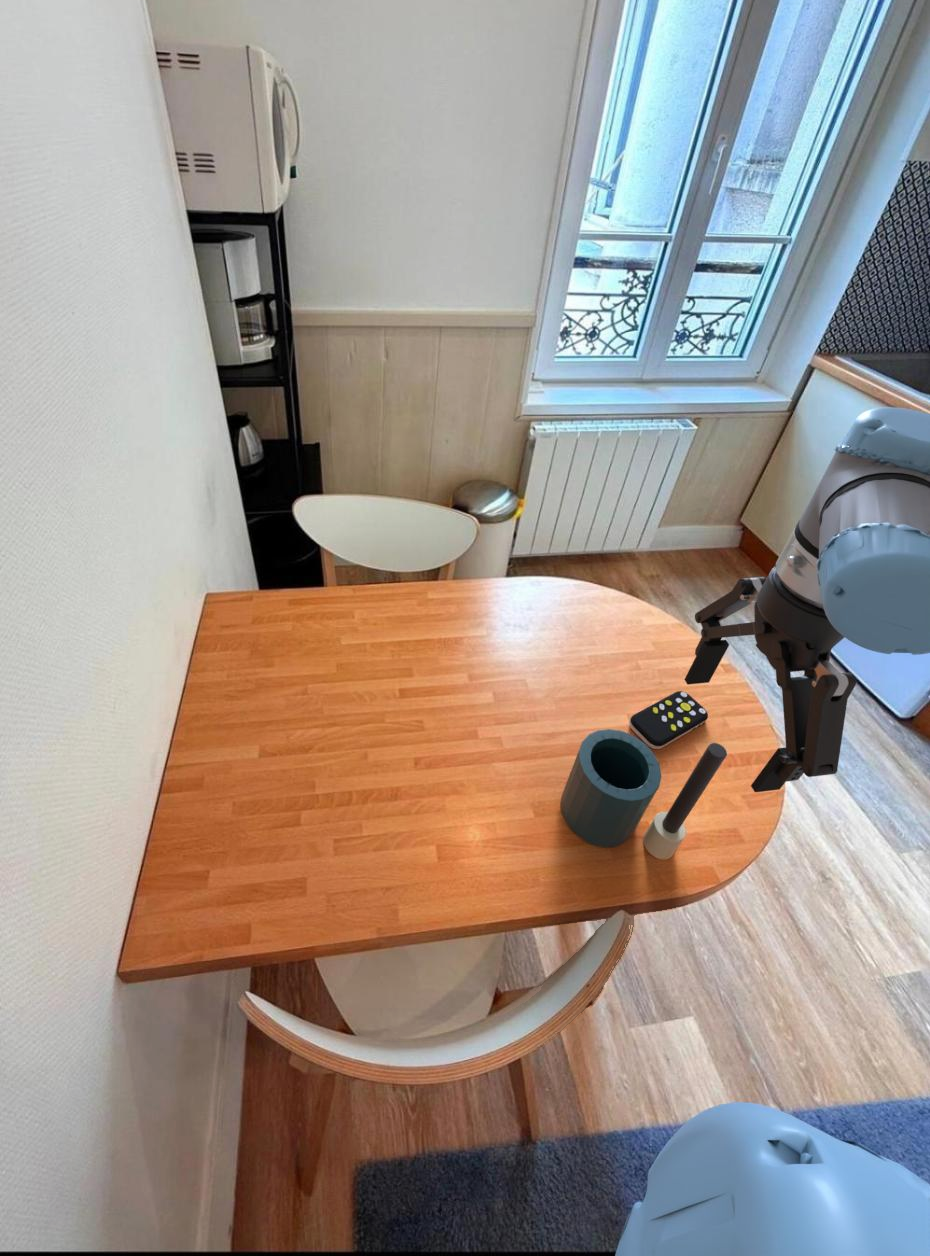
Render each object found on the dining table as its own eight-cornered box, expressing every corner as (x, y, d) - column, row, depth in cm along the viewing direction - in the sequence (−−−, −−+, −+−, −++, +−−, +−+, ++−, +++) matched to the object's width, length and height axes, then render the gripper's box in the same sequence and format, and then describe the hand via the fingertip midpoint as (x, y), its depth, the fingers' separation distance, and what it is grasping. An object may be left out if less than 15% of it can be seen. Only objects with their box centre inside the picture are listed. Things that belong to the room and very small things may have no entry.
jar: (647, 843, 82) (675, 795, 75) (575, 852, 81) (597, 805, 73) (616, 774, 90) (639, 725, 82) (550, 782, 88) (567, 732, 81)
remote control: (624, 723, 97) (627, 716, 96) (679, 693, 102) (682, 686, 101) (653, 754, 93) (657, 746, 92) (709, 721, 98) (713, 713, 97)
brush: (679, 857, 81) (744, 764, 67) (651, 861, 80) (710, 768, 66) (665, 828, 84) (724, 733, 70) (638, 831, 83) (692, 736, 69)
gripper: (705, 505, 62) (645, 647, 75) (888, 705, 43) (764, 848, 56) (772, 502, 63) (701, 642, 76) (979, 696, 44) (836, 838, 57)
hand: (727, 730), depth 66 cm, fingers open, 13 cm apart
